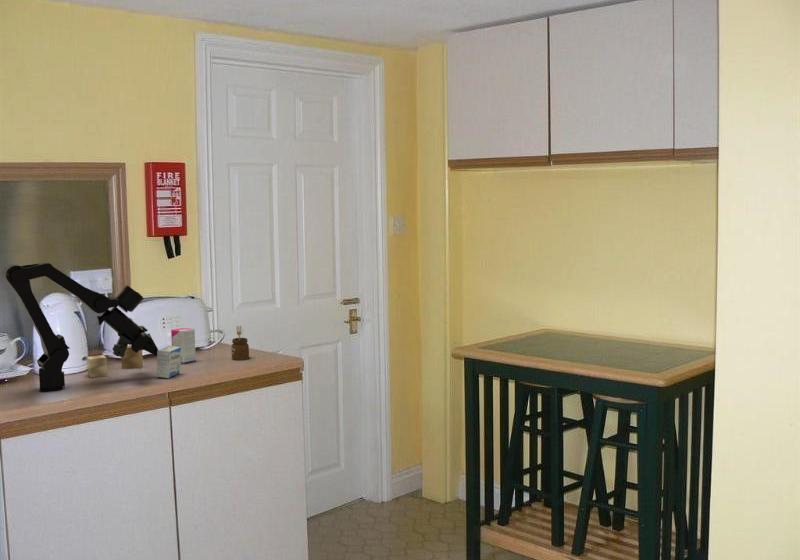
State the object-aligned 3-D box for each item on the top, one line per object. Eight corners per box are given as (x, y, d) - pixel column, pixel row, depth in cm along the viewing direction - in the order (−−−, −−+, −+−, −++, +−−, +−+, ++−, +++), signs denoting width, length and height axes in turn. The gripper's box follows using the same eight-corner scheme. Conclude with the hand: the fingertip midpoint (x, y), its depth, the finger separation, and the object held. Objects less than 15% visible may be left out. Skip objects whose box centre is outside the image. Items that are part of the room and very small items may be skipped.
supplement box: (196, 361, 297) (195, 328, 296) (183, 364, 292) (182, 330, 291) (184, 359, 301) (183, 327, 299) (171, 362, 296) (170, 329, 294)
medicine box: (168, 378, 270) (170, 351, 269) (155, 376, 271) (157, 349, 270) (179, 373, 278) (181, 347, 277) (166, 371, 279) (168, 345, 278)
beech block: (90, 378, 274) (89, 359, 273) (88, 375, 278) (87, 356, 277) (107, 376, 276) (106, 357, 276) (104, 373, 280) (103, 355, 280)
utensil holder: (249, 356, 304) (248, 323, 303) (248, 360, 298) (247, 325, 297) (232, 357, 303) (231, 323, 302) (231, 361, 297) (230, 326, 296)
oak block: (121, 369, 287) (120, 348, 286) (124, 366, 291) (123, 346, 290) (140, 368, 287) (139, 347, 287) (143, 366, 291) (142, 345, 291)
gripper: (102, 338, 276) (140, 369, 281) (103, 348, 258) (143, 381, 263) (127, 312, 278) (164, 343, 282) (129, 320, 260) (169, 353, 265)
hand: (159, 355), depth 273 cm, fingers closed
